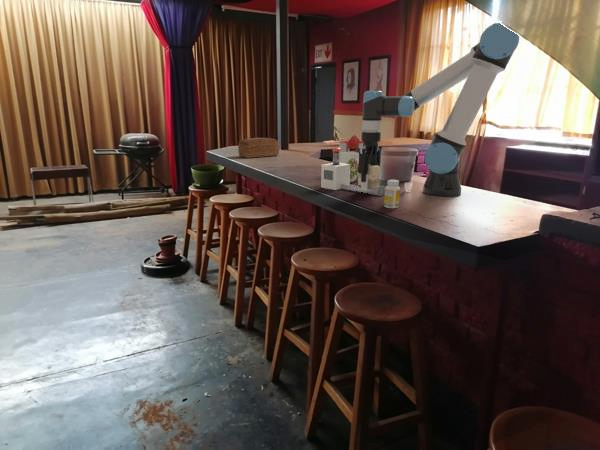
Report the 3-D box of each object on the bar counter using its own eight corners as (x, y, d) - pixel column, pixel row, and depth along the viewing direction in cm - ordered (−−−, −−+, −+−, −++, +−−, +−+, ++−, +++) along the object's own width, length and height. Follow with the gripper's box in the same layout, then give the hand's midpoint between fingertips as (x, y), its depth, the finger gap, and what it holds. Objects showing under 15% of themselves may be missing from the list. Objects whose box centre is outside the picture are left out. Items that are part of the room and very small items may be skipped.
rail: (384, 194, 176) (384, 186, 175) (379, 196, 173) (379, 187, 172) (345, 187, 189) (345, 179, 188) (340, 189, 186) (340, 180, 185)
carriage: (379, 187, 178) (380, 165, 175) (372, 189, 174) (373, 167, 171) (365, 185, 182) (366, 164, 180) (357, 187, 179) (358, 165, 176)
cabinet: (349, 186, 191) (350, 164, 188) (335, 190, 184) (335, 166, 181) (335, 184, 196) (335, 162, 193) (320, 187, 189) (321, 164, 186)
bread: (235, 156, 288) (234, 138, 284) (271, 154, 304) (271, 136, 300) (245, 159, 277) (245, 139, 274) (282, 156, 293) (282, 137, 290)
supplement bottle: (386, 208, 153) (387, 182, 151) (382, 205, 158) (383, 179, 156) (401, 208, 154) (402, 181, 151) (396, 204, 159) (398, 179, 156)
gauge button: (341, 164, 187) (342, 148, 185) (336, 165, 185) (337, 148, 183) (335, 164, 190) (335, 147, 188) (330, 164, 187) (330, 148, 185)
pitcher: (371, 181, 204) (373, 152, 200) (337, 184, 197) (338, 153, 193) (360, 177, 213) (361, 149, 210) (327, 180, 207) (328, 151, 203)
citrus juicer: (335, 176, 215) (336, 136, 210) (340, 171, 232) (341, 133, 226) (366, 178, 212) (368, 136, 206) (369, 172, 228) (371, 134, 222)
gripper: (376, 129, 181) (373, 184, 187) (349, 132, 168) (347, 190, 174) (391, 130, 176) (388, 186, 182) (366, 133, 163) (363, 193, 169)
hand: (368, 188), depth 178 cm, fingers closed on carriage, 5 cm apart
